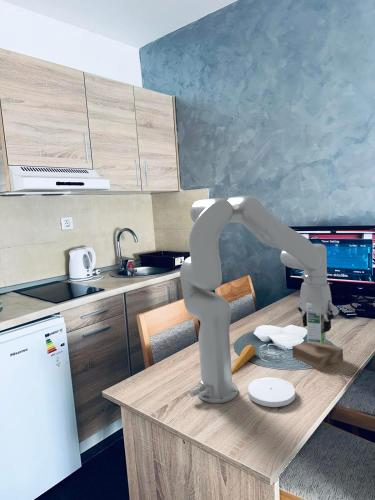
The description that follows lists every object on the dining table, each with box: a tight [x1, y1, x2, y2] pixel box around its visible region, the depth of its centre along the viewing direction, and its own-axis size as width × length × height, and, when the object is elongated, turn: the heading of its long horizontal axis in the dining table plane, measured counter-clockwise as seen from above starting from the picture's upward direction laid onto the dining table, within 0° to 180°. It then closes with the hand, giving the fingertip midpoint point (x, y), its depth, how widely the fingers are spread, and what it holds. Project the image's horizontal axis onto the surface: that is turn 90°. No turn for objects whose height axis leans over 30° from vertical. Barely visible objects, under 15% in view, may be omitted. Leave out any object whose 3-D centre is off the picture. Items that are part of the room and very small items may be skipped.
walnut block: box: [291, 341, 344, 372], centre depth 127 cm, size 12×12×5 cm
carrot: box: [231, 344, 256, 375], centre depth 128 cm, size 20×4×4 cm, turn 147°
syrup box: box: [306, 303, 327, 345], centre depth 125 cm, size 6×6×14 cm
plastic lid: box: [246, 376, 296, 408], centre depth 106 cm, size 14×14×2 cm
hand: (316, 328), depth 126 cm, fingers closed on syrup box, 7 cm apart
